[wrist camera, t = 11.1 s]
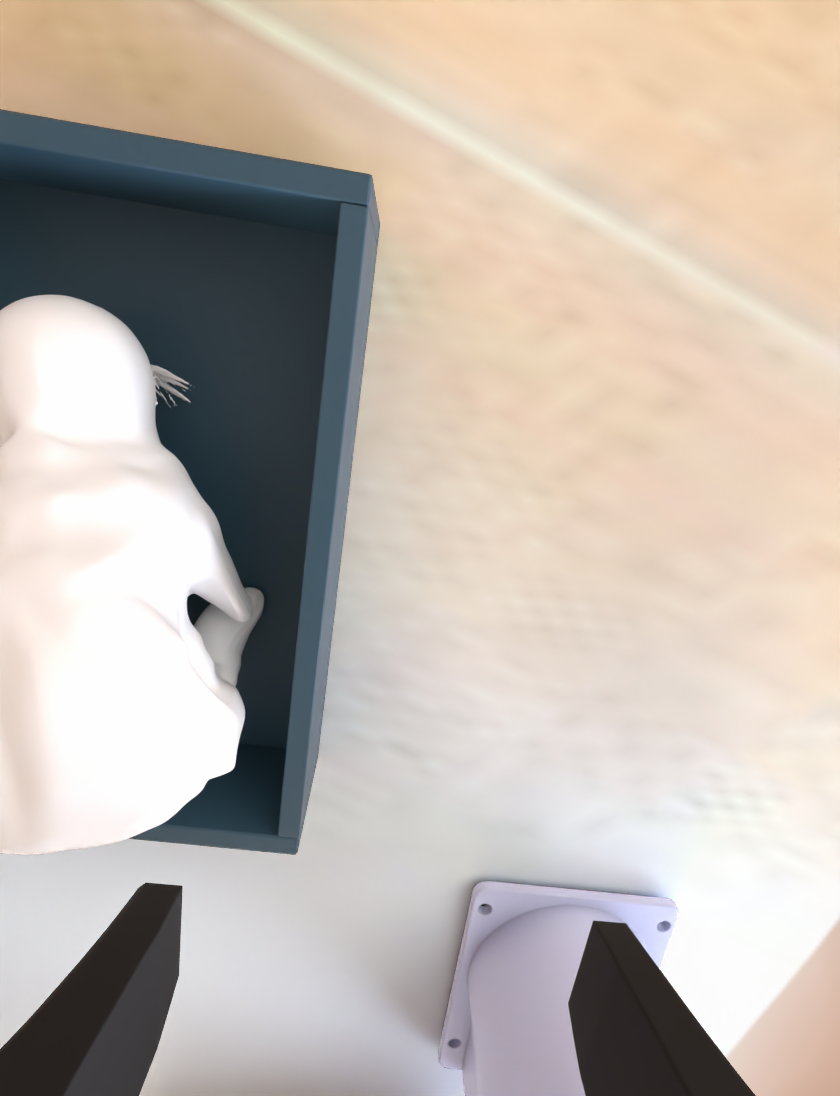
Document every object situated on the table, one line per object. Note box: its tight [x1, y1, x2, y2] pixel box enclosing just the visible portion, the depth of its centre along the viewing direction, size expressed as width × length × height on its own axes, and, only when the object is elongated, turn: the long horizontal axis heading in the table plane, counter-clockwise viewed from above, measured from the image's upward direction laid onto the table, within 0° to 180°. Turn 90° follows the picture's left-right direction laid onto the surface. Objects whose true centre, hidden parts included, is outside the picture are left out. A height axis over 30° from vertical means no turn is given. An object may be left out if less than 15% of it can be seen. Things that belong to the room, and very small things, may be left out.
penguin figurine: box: [0, 295, 264, 855], centre depth 15 cm, size 6×8×12 cm
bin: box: [0, 109, 380, 855], centre depth 17 cm, size 17×11×4 cm, turn 172°
